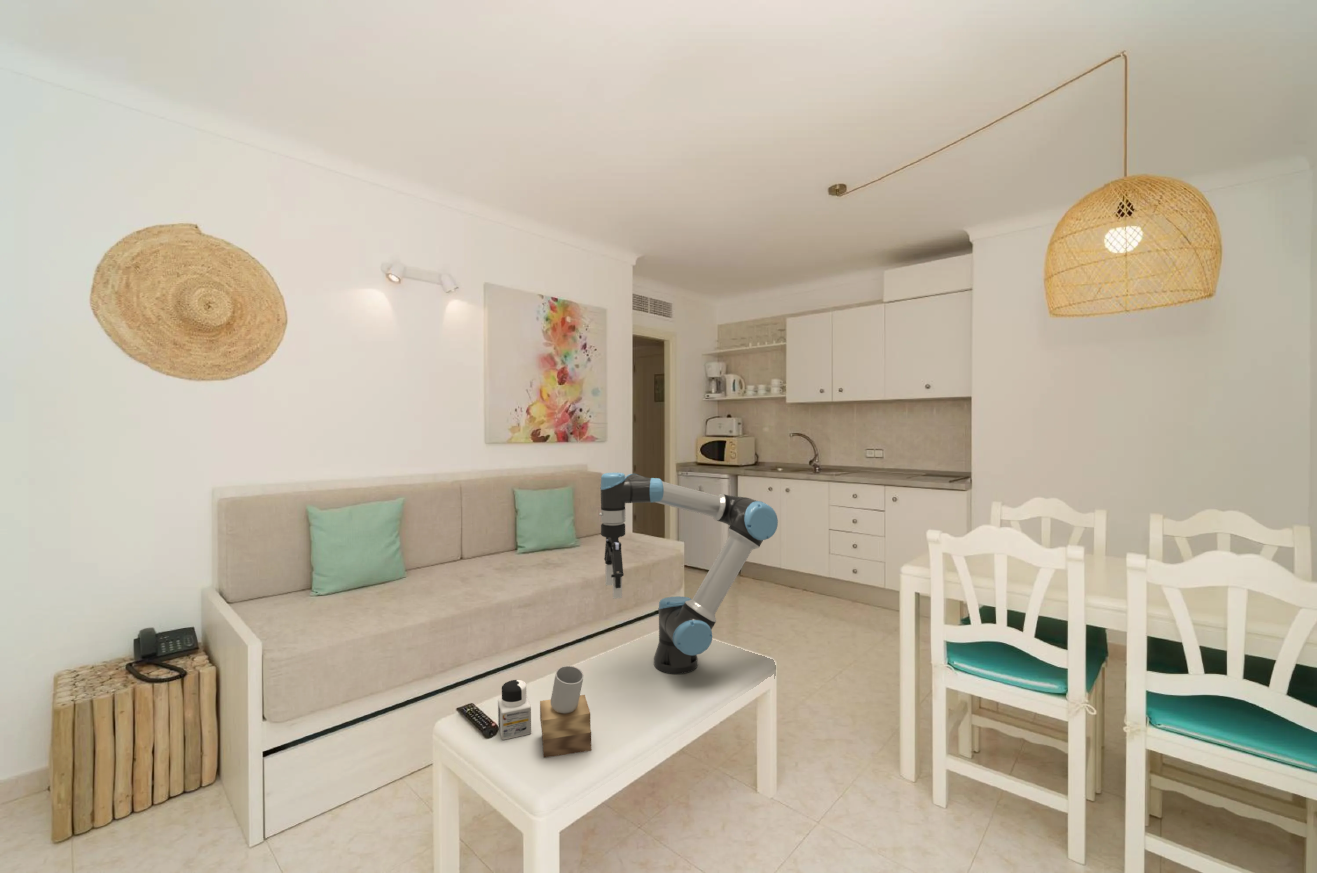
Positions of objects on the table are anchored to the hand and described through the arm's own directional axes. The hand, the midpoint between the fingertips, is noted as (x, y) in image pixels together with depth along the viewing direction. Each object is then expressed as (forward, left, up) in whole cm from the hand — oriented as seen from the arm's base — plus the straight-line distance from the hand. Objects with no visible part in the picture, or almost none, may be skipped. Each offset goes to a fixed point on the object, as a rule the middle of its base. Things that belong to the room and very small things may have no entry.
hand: (613, 591), depth 172 cm
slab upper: (+17, +24, -27) cm, 40 cm away
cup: (+17, +23, -21) cm, 35 cm away
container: (+30, +14, -32) cm, 46 cm away
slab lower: (+17, +24, -32) cm, 43 cm away
